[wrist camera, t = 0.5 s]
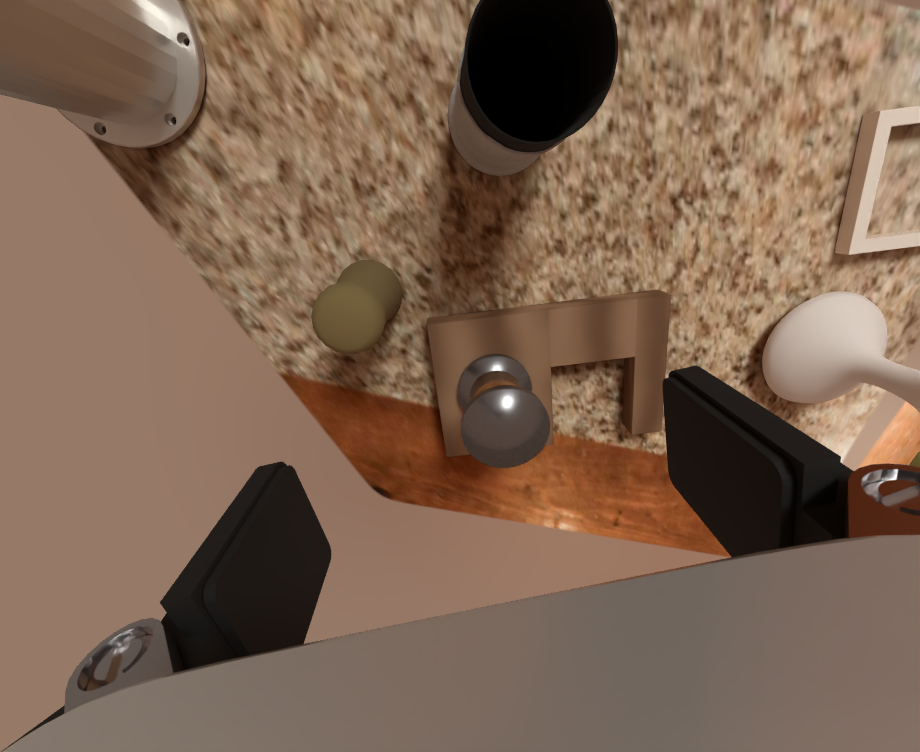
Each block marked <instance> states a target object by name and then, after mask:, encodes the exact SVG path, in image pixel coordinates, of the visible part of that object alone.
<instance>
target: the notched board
mask: <svg viewBox="0 0 920 752" xmlns="http://www.w3.org/2000/svg"><path fill="white" fill-rule="evenodd" d="M670 302H671V295H670V294H668V293H665V292H663V291H660V290H651V291H643V292H635V293H627V294H619V295H611V296H603V297H595V298H587V299H579V300H570V301H562V302H554V303H546V304H538V305H530V306H522V307H514V308H506V309H498V310H490V311H482V312H474V313H466V314H457V315H449V316H441V317H433V318H428V320H427V330H428V337H429V343H430V350H431V356H432V363H433V370H434V376H435V383H436V390H437V396H438V403H439V409H440V416H441V423H442V429H443V436H444V442H445V449H446V456H447V457H452V456H460V455H469V454H470V453H469V452H468V451H467V449H466V447H465V446H464V443H463V441H462V436H461V419H462V415H463V412H464V410H463V408H462V406H461V404H460V401H459V397H458V383H459V379H460V376H461V374H462V372H463V371H464V369H465V368H466V367H467V366H468V365H469V364H470V363H471V362H472V361H474V360H476V359H477V358H479V357H482V356H485V355H489V354H502V355H507V356H510V357H512V358H514V359H516V360H517V361H519V362H520V363H521V364H522V365H523V366H524V368H525V369H526V371H527V372H528V374H529V377H530V379H531V383H532V393H534V394H535V395H536V396H537V397H538V398H539V399H540V400H541V402H542V403H543V405H544V406H545V408H546V411H547V413H548V415H549V419H550V433H549V437H548V440H547V442H546V444H545V445H551V444H554V438H553V412H552V386H551V367H555V366H563V365H571V364H579V363H587V362H595V361H604V360H612V359H620V358H624V386H623V418H622V423H623V424H624V426H625V427H626V428H627V429H628V431H629V432H630V433H631V434H632V435H634V434H643V433H651V432H659V431H661V429H662V414H663V387H662V383H663V380H664V379H665V372H666V358H667V344H668V330H669V316H670Z"/></svg>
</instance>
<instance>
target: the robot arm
mask: <svg viewBox="0 0 920 752" xmlns="http://www.w3.org/2000/svg"><path fill="white" fill-rule="evenodd" d="M189 40H190V43H189V45H187V42H188V41H189ZM205 77H206V75H205V63H204V55H203V51H202V47H201V43H200V39H199V36H198V34H197V31H196V29H195V26H194V24H193V21H192V19H191V17H190V15H189V14H188V12H187V10H186V8H185V7H184V5H183V3H182V2H181V0H0V94H1V95H5V96H10V97H13V98H18V99H21V100H26V101H30V102H34V103H38V104H42V105H46V106H50V107H54V108H56V109H57V110H58V111H59V112H60V113H61V114H62V115H63V116H64V117H65V118H67V119H68V120H69V121H70V122H72V123H73V124H74V125H76V126H77V127H78V128H79V129H81V130H83V131H85V132H86V133H88V134H90V135H92V136H93V137H95V138H97V139H100V140H103V141H105V142H108V143H111V144H114V145H119V146H124V147H131V148H142V149H143V148H151V147H158V146H161V145H163V144H166V143H169V142H171V141H173V140H174V139H176V138H177V137H178V136H180V135H181V134H183V133H184V132H185V130H186V129H187V128H188V127H189V126H190V125H191V124H192V122H193V120H194V119H195V117H196V115H197V113H198V111H199V109H200V106H201V102H202V99H203V95H204V88H205ZM175 119H176V124H175V122H174V120H175ZM662 387H663V402H664V416H665V430H666V445H667V459H668V472H669V476H670V479H671V481H672V483H673V485H674V487H675V488H676V489H677V490H678V492H679V493H680V494H681V495H682V496H683V498H684V499H685V500H686V501H687V503H688V504H689V505H690V506H691V508H692V509H693V510H694V511H695V512H696V514H697V515H698V516H699V517H700V519H701V520H702V521H703V522H704V524H705V525H706V526H707V527H708V528H709V530H710V531H711V532H712V533H713V535H714V536H715V537H716V538H717V540H718V541H719V542H720V543H721V544H722V546H723V547H724V548H725V549H726V551H727V552H728V553H729V554H730V555H731V558H726V559H721V560H716V561H711V562H706V563H701V564H696V565H691V566H686V567H681V568H676V569H671V570H666V571H661V572H655V573H650V574H645V575H640V576H635V577H630V578H625V579H620V580H616V581H610V582H605V583H600V584H596V585H590V586H585V587H580V588H575V589H570V590H565V591H560V592H555V593H550V594H546V595H540V596H536V597H530V598H525V599H520V600H515V601H510V602H505V603H500V604H495V605H491V606H486V607H481V608H476V609H471V610H467V611H461V612H457V613H452V614H447V615H442V616H437V617H432V618H427V619H422V620H418V621H413V622H408V623H403V624H398V625H393V626H388V627H383V628H378V629H374V630H369V631H364V632H359V633H354V634H349V635H345V636H340V637H335V638H330V639H326V640H321V641H316V642H312V643H306V644H304V641H305V638H306V634H307V631H308V628H309V625H310V622H311V619H312V616H313V613H314V610H315V607H316V604H317V601H318V598H319V594H320V591H321V588H322V585H323V582H324V579H325V576H326V573H327V570H328V567H329V563H330V560H331V548H330V545H329V542H328V540H327V538H326V536H325V534H324V531H323V529H322V528H321V525H320V523H319V521H318V519H317V516H316V515H315V512H314V510H313V508H312V506H311V503H310V501H309V499H308V497H307V495H306V493H305V491H304V488H303V486H302V484H301V482H300V480H299V478H298V476H297V473H296V471H295V469H294V468H293V467H292V466H290V465H289V466H287V465H286V464H285V463H284V462H277V463H273V464H268V465H264V466H260V467H258V468H257V469H256V470H255V471H254V473H253V474H252V475H251V477H250V478H249V480H248V481H247V482H246V484H245V485H244V487H243V488H242V490H241V491H240V492H239V494H238V495H237V496H236V498H235V499H234V501H233V502H232V503H231V505H230V506H229V507H228V509H227V510H226V512H225V513H224V515H223V516H222V517H221V519H220V520H219V521H218V523H217V524H216V525H215V527H214V528H213V530H212V531H211V532H210V534H209V535H208V537H207V538H206V539H205V541H204V542H203V543H202V545H201V546H200V548H199V549H198V550H197V552H196V553H195V555H194V556H193V558H192V559H191V560H190V562H189V563H188V564H187V566H186V567H185V569H184V570H183V571H182V573H181V574H180V575H179V577H178V578H177V580H176V581H175V582H174V584H173V585H172V586H171V588H170V590H169V591H168V592H167V593H166V595H165V596H164V598H163V599H162V600H161V602H160V604H161V605H162V606H163V608H164V609H165V610H166V612H167V613H166V615H165V616H164V618H163V619H162V621H161V622H160V621H159V620H157V619H153V618H149V619H142V620H139V621H137V622H134V623H131V624H128V625H127V626H125V627H123V628H121V629H120V630H118V631H116V632H114V633H113V634H112V635H110V636H109V637H107V638H106V639H105V640H103V641H102V642H101V643H99V644H98V645H97V646H96V647H95V648H94V649H93V650H92V651H91V652H90V653H88V654H87V656H86V657H85V658H84V659H83V660H82V661H81V662H80V664H79V665H78V666H77V667H76V669H75V670H74V672H73V674H72V676H71V677H70V678H69V681H68V684H67V687H66V692H65V705H64V706H63V707H62V708H60V709H59V710H58V711H56V712H55V713H54V714H52V715H51V716H49V717H48V718H47V719H45V720H44V721H43V722H41V723H40V724H38V725H37V726H36V727H34V728H33V729H32V730H30V731H29V732H28V733H26V734H25V735H23V736H22V737H21V738H19V739H18V740H17V741H15V742H14V743H12V744H11V745H10V746H8V747H7V748H6V749H4V750H3V751H2V752H920V467H915V466H910V465H902V464H888V463H887V464H873V465H868V466H865V467H861V468H858V469H857V470H855V471H852V470H851V469H849V468H848V467H846V466H845V465H843V464H842V463H840V460H841V457H840V456H839V455H837V454H836V453H834V452H833V451H831V450H829V449H828V448H826V447H825V446H823V445H822V444H820V443H818V442H817V441H815V440H814V439H812V438H811V437H809V436H807V435H806V434H804V433H803V432H801V431H800V430H798V429H796V428H795V427H793V426H792V425H790V424H789V423H787V422H785V421H784V420H782V419H781V418H779V417H778V416H776V415H774V414H773V413H771V412H770V411H768V410H767V409H765V408H763V407H762V406H760V405H759V404H757V403H756V402H754V401H752V400H751V399H749V398H748V397H746V396H745V395H743V394H741V393H740V392H738V391H737V390H735V389H733V388H732V387H730V386H729V385H727V384H726V383H724V382H722V381H721V380H719V379H718V378H716V377H715V376H713V375H711V374H710V373H708V372H707V371H705V370H704V369H702V368H700V367H699V366H692V367H687V368H683V369H679V370H674V371H671V372H670V373H669V378H666V379H664V380H663V383H662Z"/></svg>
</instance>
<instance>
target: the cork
mask: <svg viewBox="0 0 920 752" xmlns="http://www.w3.org/2000/svg"><path fill="white" fill-rule="evenodd" d="M401 300H402V288H401V285H400V282H399V280H398V278H397V276H396V275H395V274H394V273H393V271H392V270H391V269H390V268H388V267H387V266H385V265H384V264H382V263H379V262H376V261H373V260H361V261H358V262H355V263H353V264H351V265H350V266H348V267H347V268H346V269H345V270H344V271H343V272H342V274H341V276H340V277H339V279H338V281H337V283H336V284H334V285H331V286H329V287H327V288H326V289H325V290H324V291H323V292H321V293H320V294H319V296H318V297H317V299H316V301H315V303H314V305H313V311H312V324H313V328H314V330H315V332H316V334H317V336H318V338H319V339H320V340H321V341H322V342H323V343H324V344H325V345H326V346H327V347H329V348H331V349H332V350H334V351H337V352H340V353H344V354H357V353H359V352H362V351H365V350H368V349H369V348H371V347H372V346H373V345H374V344H376V343H377V341H378V340H379V338H380V337H381V335H382V334H383V331H384V327H385V322H387V321H388V320H389V319H390V318H392V317H393V316H394V315H395V314H396V312H397V311H398V309H399V308H400V304H401Z"/></svg>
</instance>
